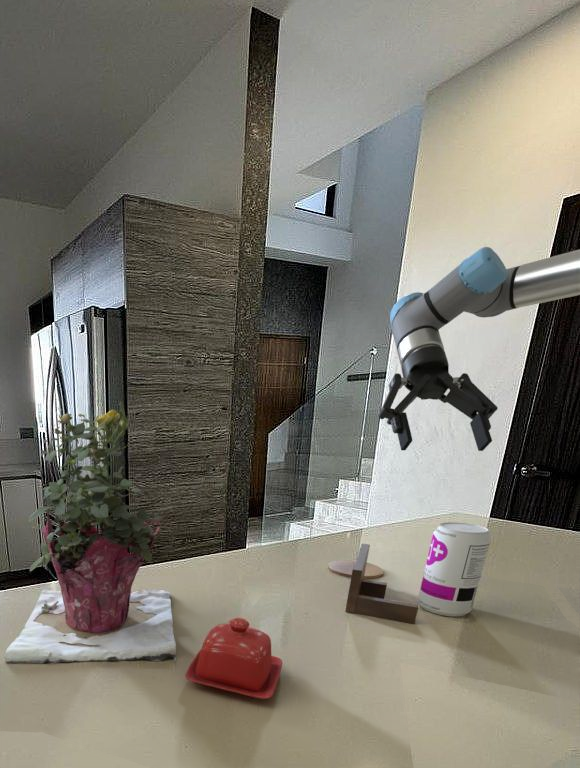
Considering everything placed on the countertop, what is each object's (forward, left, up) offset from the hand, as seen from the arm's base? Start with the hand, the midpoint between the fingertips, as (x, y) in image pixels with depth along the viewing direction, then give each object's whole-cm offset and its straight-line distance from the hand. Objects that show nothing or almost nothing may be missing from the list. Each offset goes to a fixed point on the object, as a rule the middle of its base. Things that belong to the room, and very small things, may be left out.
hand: (445, 445), depth 86 cm
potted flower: (+46, +45, -27) cm, 70 cm away
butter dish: (+21, +50, -27) cm, 61 cm away
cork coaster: (+11, -5, -27) cm, 30 cm away
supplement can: (-5, +10, -27) cm, 29 cm away
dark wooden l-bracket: (+5, +11, -27) cm, 30 cm away
